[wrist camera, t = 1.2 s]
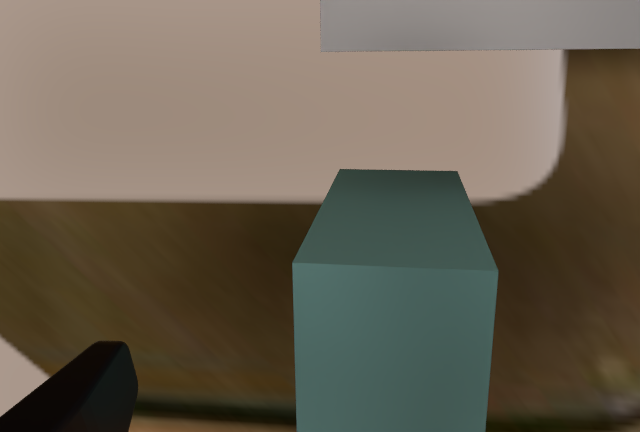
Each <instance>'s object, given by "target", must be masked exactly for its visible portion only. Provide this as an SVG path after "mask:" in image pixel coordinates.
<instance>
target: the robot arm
mask: <svg viewBox="0 0 640 432" xmlns="http://www.w3.org/2000/svg"><path fill="white" fill-rule="evenodd" d="M137 393H138V380H137V376H136V372H135V369H134V365H133V362H132V358H131V354H130V351H129V348H128V346H127V344H126V343H125V342H122V341H98V342H96V343H94V344H92V345H91V346H90V347H88V348H87V349H86V350H85V351H83V352H82V353H81V354H80V355H78V356H77V357H76V358H74V359H73V360H72V361H71V362H69V363H68V364H67V365H66V366H64V367H63V368H62V369H60V370H59V371H58V372H57V373H55V374H54V375H53V376H52V377H50V378H49V379H48V380H46V381H45V382H44V383H43V384H42V385H40V386H39V387H38V388H36V389H35V390H34V391H33V392H31V393H30V394H29V395H27V396H26V397H25V398H24V399H22V400H21V401H20V402H19V403H17V404H16V405H15V406H13V407H12V408H11V409H10V410H8V411H7V412H6V413H5V414H3V415H2V416H1V417H0V432H128V431H129V427H130V423H131V419H132V415H133V411H134V407H135V402H136V398H137Z"/></svg>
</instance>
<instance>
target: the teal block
mask: <svg viewBox="0 0 640 432" xmlns="http://www.w3.org/2000/svg"><path fill="white" fill-rule="evenodd" d="M292 269H293V306H294V344H295V381H296V418H297V432H485V427H486V415H487V403H488V391H489V379H490V367H491V355H492V343H493V331H494V319H495V307H496V295H497V283H498V269H497V266H496V264H495V261H494V259H493V257H492V254H491V252H490V249H489V247H488V245H487V242H486V240H485V237H484V235H483V232H482V230H481V228H480V225H479V223H478V220H477V218H476V215H475V213H474V211H473V208H472V206H471V203H470V201H469V198H468V196H467V194H466V191H465V189H464V187H463V184H462V182H461V179H460V177H459V174H458V172H457V171H413V170H412V171H411V170H356V169H355V170H354V169H340V170H339V172H338V174H337V176H336V178H335V180H334V182H333V184H332V186H331V188H330V190H329V192H328V194H327V196H326V198H325V199H324V201H323V203H322V205H321V207H320V209H319V211H318V213H317V215H316V217H315V219H314V221H313V223H312V225H311V227H310V229H309V231H308V233H307V235H306V237H305V239H304V241H303V243H302V245H301V247H300V249H299V251H298V253H297V255H296V257H295V258H294V260H293V262H292Z"/></svg>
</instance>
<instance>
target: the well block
mask: <svg viewBox="0 0 640 432" xmlns="http://www.w3.org/2000/svg"><path fill="white" fill-rule="evenodd" d="M320 12H321V13H320V18H321V52H340V51H341V52H343V51H438V50H439V51H443V50H444V51H445V50H535V49H536V50H542V49H545V50H546V49H640V0H320Z"/></svg>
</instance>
